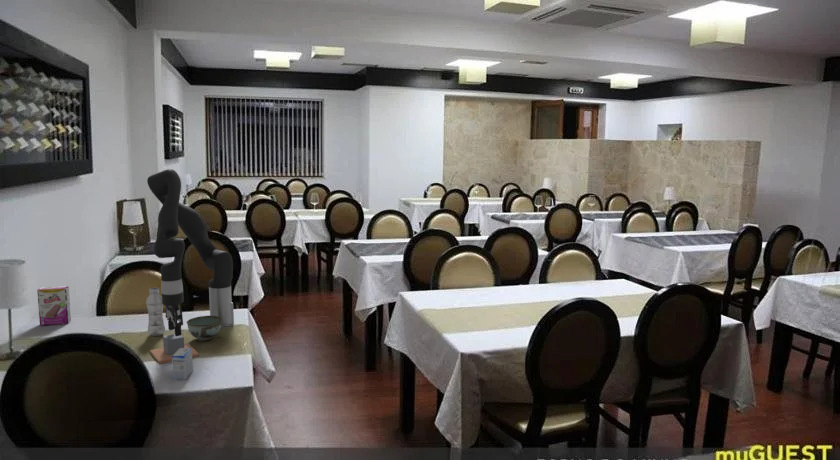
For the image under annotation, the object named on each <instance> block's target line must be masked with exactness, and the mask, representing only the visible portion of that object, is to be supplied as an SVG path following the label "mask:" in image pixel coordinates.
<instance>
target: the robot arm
mask: <svg viewBox="0 0 840 460" xmlns="http://www.w3.org/2000/svg"><path fill="white" fill-rule="evenodd" d="M146 180H147V186H148V189H149V190H150V191H151V193H152V194H153V195H154V196H155V198H156V199H157V200H158V201H159V203H161V204H162V207H161V208H160V210H159V212H158V217H157V231H158V232H157V237H156V239H155V241H154V245H153V254H154V255H155V256H156V257H157V258H158V259H166V258H170V259H171V258H174V260H173V261H171V262H167V263H164V264H162V265H161V266H160V277H161V279H160V281H161V283H160V284H161V285H160V287H161V288H160V289H161V290H160V291H161V293H160V294H161V297H162V304H163V306H164V309H165V311H164V312H165V318H166V320H167V324H168V330H169V331H174V334H175V336H181V335H182V326H184V321H183V320H184V319H183V318H184V317H183V309H182V308H180V305H182V304H183V303H184V301H185V300H184V284H183V280H182V279H183V278H182V262H183V258H184V257H183V256H184V253H185V248H186V244H185V242H184V240H183V239H182V238H179V237H178V238H177V235H178V234H179V232H180V231H179V228H180V230H181V232H183V234H184V235H185V236H186V238H188V240H189V242H190V243H191V245H192V246H193V247H194V248H195V250H196V251H197V253H198V254H199V257H200V258H201V260H202V262H203V264H204V265H205V267H206V268H207V269H208V270H211V271H213V278H212V279H210V280H209V281H208V293H209V294H208V295H209V296H208V297H209V298H208V299H209V316H218V317H221V318H222V321H221V328H222V327H227V326H230V325H233V324H235V319H234V317H235V315H234V302H232V300H233V299H232V280H233V273H234V270H233V269H234V263H233V262H234V260H233V257H232V254H231V253H229V252H228V251H225V250H220V249H218V248H216V246H215V245H214V244H213V242H212V241H211V240H210V237H209V235H208V228H207V225H206V222H205V221H204V220H203V217H201V215H200V214H199V212H198V211H196V210H195V209H193V208H192V207H190V206H188V205H186V204H183V203H181V202H180V199H181V191H182V181H181V178H180V175H179V174H178V172H177V171H176V170H175V169H173V168H167V169H165V170H162V171H159V172H157V173H154V174H152V175H149V176H148V178H147V179H146ZM175 237H176V238H175Z"/></svg>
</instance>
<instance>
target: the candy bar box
mask: <svg viewBox="0 0 840 460" xmlns="http://www.w3.org/2000/svg"><path fill="white" fill-rule="evenodd" d="M69 287H70V286H69V285H59V286H55V285H54V286H41V287H39V288H38V289H37V290H36V291H37V304H38V317H39V327H40V326H53V325H54V326H55V325H56V326H57V325H69V324H70V322H71V321H72V317H71V316H72V315H71V302H70V288H69Z"/></svg>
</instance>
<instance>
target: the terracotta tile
mask: <svg viewBox="0 0 840 460" xmlns="http://www.w3.org/2000/svg"><path fill="white" fill-rule="evenodd" d="M184 348H192V358H196V357H199V352H198V351H197V350H196V349H195V348H194V347H193V346H192V345H191V344H190V343H188V342H187V343H185V342H184ZM149 353H150V354H151V356H152V357H153V358H154V360H156V361H157V363H158V364H165V363H169V362H171V363H172V356H173V355H169V356H168V355H167V354H166V353H165V352H164V347H160V348H159V347H158V348H154V349H150V350H149Z"/></svg>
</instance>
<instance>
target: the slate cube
mask: <svg viewBox="0 0 840 460" xmlns="http://www.w3.org/2000/svg"><path fill="white" fill-rule="evenodd" d="M162 341H163V342H162V343H163V345H162V346H163V348H164V352H165V353H166V354H167V355H168V356H169V355H174V354H175V353H176V352H177V350H178V349H179V348H184V344H185V337H184V335H182V334H181V336H175V333H172V334H167V335H166V334H165V335H162Z"/></svg>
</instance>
